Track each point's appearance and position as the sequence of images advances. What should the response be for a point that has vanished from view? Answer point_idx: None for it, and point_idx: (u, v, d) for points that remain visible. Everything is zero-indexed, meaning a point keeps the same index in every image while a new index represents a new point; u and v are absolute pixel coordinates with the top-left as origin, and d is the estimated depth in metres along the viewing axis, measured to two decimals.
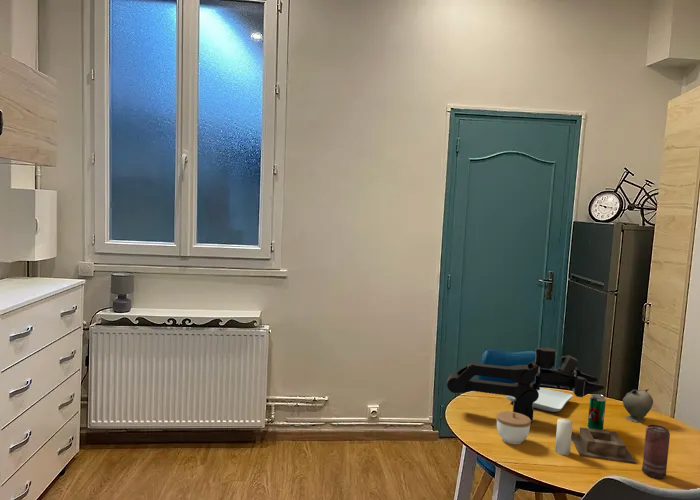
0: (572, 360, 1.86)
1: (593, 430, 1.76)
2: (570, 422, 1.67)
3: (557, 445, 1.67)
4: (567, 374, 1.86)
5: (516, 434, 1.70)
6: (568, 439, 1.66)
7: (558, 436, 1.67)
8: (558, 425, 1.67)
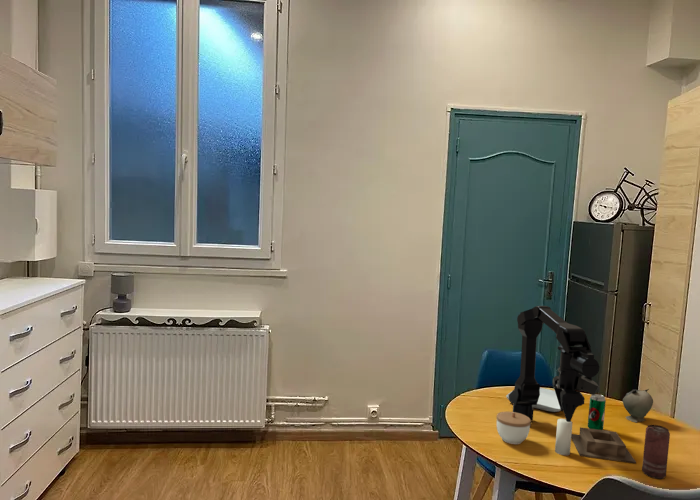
0: (595, 389, 1.63)
1: (593, 430, 1.76)
2: (570, 422, 1.67)
3: (557, 445, 1.67)
4: (579, 383, 1.63)
5: (516, 434, 1.70)
6: (568, 439, 1.66)
7: (558, 436, 1.67)
8: (558, 425, 1.67)
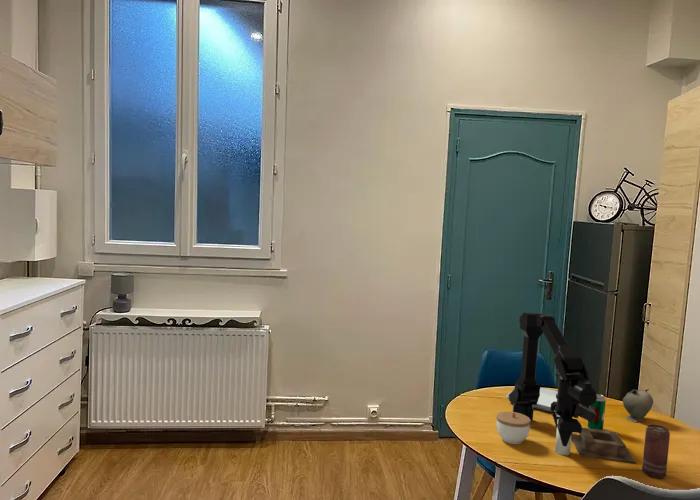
0: (593, 416, 1.63)
1: (593, 430, 1.76)
2: None
3: (557, 445, 1.67)
4: (576, 411, 1.64)
5: (516, 434, 1.70)
6: None
7: (558, 436, 1.67)
8: None
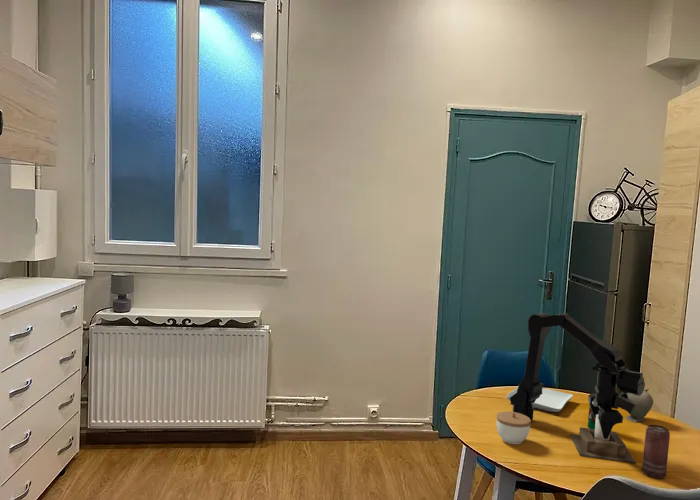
0: (632, 407, 1.67)
1: (593, 430, 1.76)
2: None
3: None
4: (616, 402, 1.68)
5: (516, 434, 1.70)
6: None
7: (597, 431, 1.71)
8: (597, 420, 1.71)
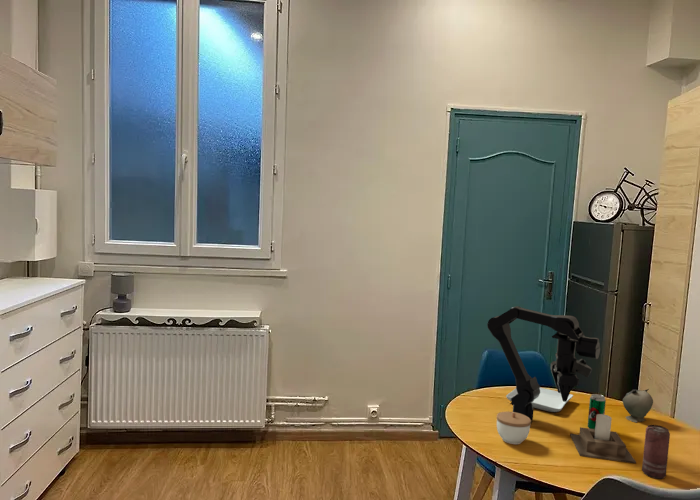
0: (589, 372, 1.80)
1: (593, 430, 1.76)
2: (609, 417, 1.71)
3: None
4: (574, 367, 1.80)
5: (516, 434, 1.70)
6: (608, 434, 1.70)
7: (597, 431, 1.71)
8: (597, 420, 1.71)
